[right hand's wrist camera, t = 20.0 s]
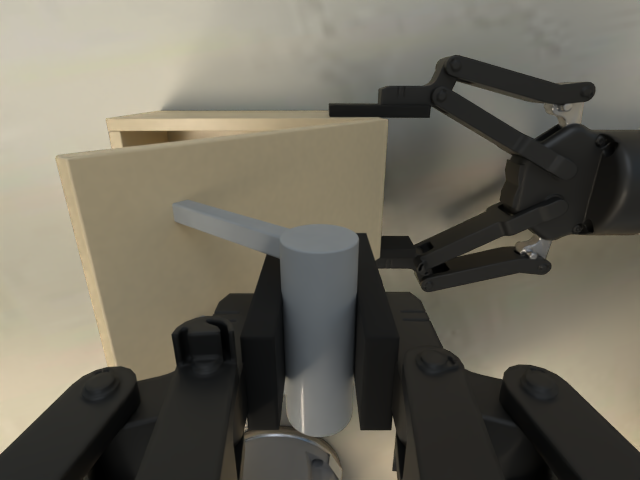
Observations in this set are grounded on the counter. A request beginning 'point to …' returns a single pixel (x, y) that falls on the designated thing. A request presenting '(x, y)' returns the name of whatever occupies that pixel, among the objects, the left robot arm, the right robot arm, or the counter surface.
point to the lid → (233, 245)
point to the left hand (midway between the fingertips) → (328, 183)
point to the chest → (208, 124)
